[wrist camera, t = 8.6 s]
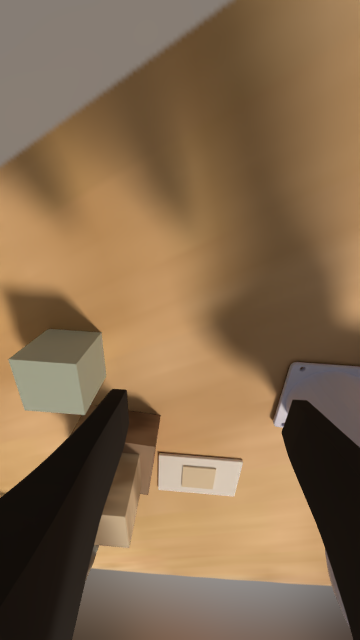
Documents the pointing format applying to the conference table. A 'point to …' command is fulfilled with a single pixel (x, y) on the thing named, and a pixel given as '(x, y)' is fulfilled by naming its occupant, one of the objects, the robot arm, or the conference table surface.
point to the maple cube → (121, 504)
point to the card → (198, 474)
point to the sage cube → (60, 371)
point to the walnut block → (138, 441)
